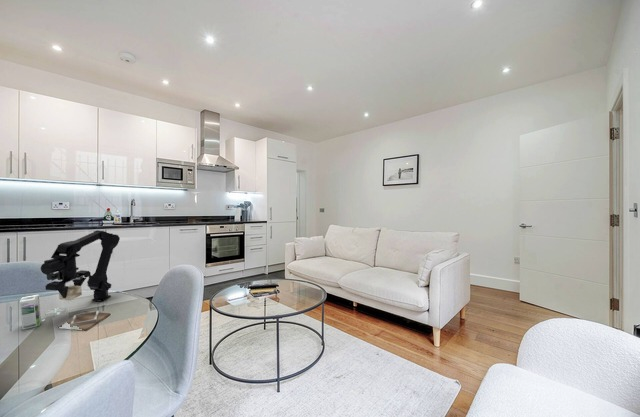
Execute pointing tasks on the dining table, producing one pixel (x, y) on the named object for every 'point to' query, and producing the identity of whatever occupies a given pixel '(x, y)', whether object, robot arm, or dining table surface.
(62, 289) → the robot arm
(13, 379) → the dining table surface
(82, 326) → the socket board
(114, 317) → the dining table surface
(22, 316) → the syrup box
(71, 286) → the ash block
